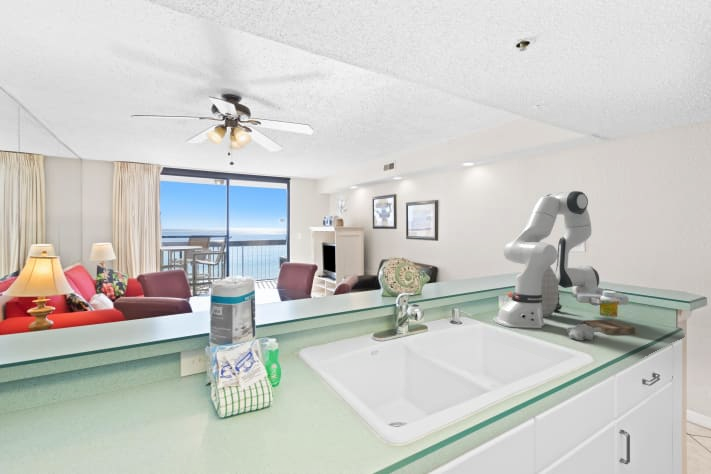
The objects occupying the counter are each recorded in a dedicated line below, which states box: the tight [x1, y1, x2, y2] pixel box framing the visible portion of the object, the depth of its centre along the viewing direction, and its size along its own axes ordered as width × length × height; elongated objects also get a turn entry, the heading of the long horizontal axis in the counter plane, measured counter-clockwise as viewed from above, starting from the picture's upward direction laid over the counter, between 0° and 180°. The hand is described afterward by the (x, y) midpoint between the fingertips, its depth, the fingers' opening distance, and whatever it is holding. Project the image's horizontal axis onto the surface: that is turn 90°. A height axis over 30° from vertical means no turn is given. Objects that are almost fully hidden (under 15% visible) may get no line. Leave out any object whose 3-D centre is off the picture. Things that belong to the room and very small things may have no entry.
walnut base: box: [582, 319, 636, 335], centre depth 146 cm, size 14×12×2 cm
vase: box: [541, 266, 559, 318], centre depth 169 cm, size 13×13×28 cm
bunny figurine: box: [566, 323, 603, 342], centre depth 136 cm, size 10×5×15 cm
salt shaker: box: [553, 291, 563, 314], centre depth 177 cm, size 6×6×12 cm
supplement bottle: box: [599, 291, 619, 319], centre depth 146 cm, size 6×6×11 cm
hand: (610, 302), depth 145 cm, fingers closed on supplement bottle, 6 cm apart
